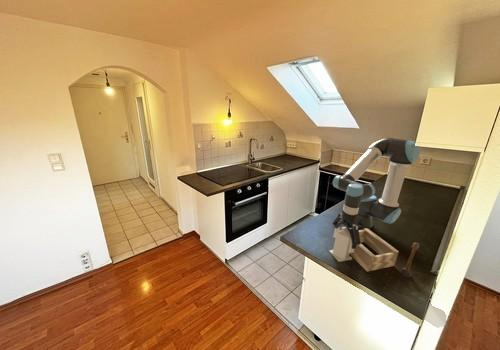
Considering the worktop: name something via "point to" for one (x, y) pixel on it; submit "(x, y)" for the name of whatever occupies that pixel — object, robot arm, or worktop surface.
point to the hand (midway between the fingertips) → (342, 244)
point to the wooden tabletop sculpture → (409, 262)
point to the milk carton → (342, 243)
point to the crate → (379, 246)
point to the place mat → (340, 258)
